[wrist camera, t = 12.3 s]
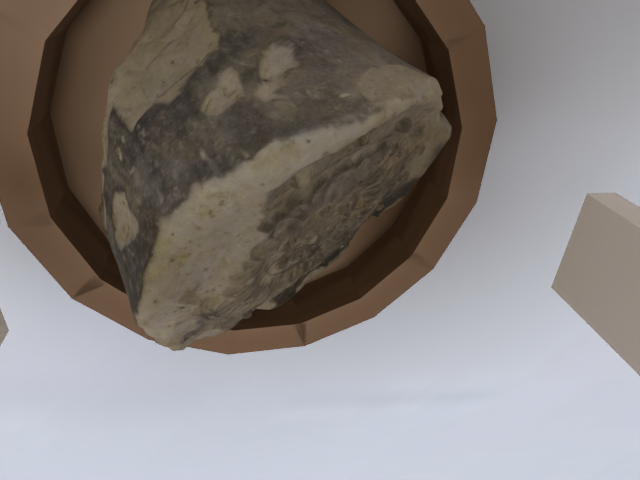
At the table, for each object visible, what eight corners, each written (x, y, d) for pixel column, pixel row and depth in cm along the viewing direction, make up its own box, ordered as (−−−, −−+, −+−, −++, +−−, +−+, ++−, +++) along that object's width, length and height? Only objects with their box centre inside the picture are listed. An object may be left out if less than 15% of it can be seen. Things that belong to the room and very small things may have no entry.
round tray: (495, -100, 15) (554, -111, 12) (418, 288, 23) (444, 330, 20) (-58, -152, 12) (-129, -182, 9) (75, 320, 20) (57, 373, 17)
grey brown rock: (336, 311, 20) (249, 509, 11) (158, 208, 21) (-63, 319, 12) (480, 77, 16) (527, 95, 7) (249, -49, 16) (2, -191, 7)
